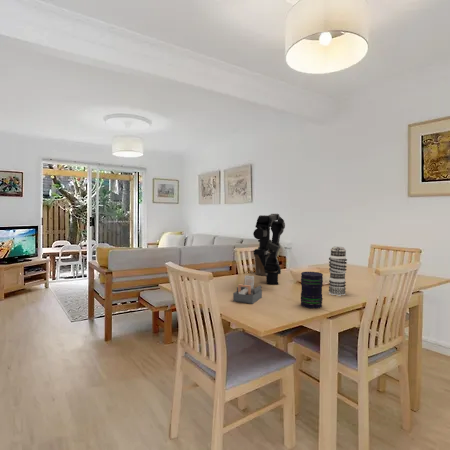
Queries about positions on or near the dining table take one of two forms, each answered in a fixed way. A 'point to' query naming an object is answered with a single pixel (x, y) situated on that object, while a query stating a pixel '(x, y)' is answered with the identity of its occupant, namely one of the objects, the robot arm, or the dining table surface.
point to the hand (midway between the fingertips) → (264, 265)
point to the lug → (244, 286)
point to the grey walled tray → (248, 295)
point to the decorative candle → (337, 271)
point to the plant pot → (259, 266)
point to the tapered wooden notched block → (248, 281)
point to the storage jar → (311, 289)
